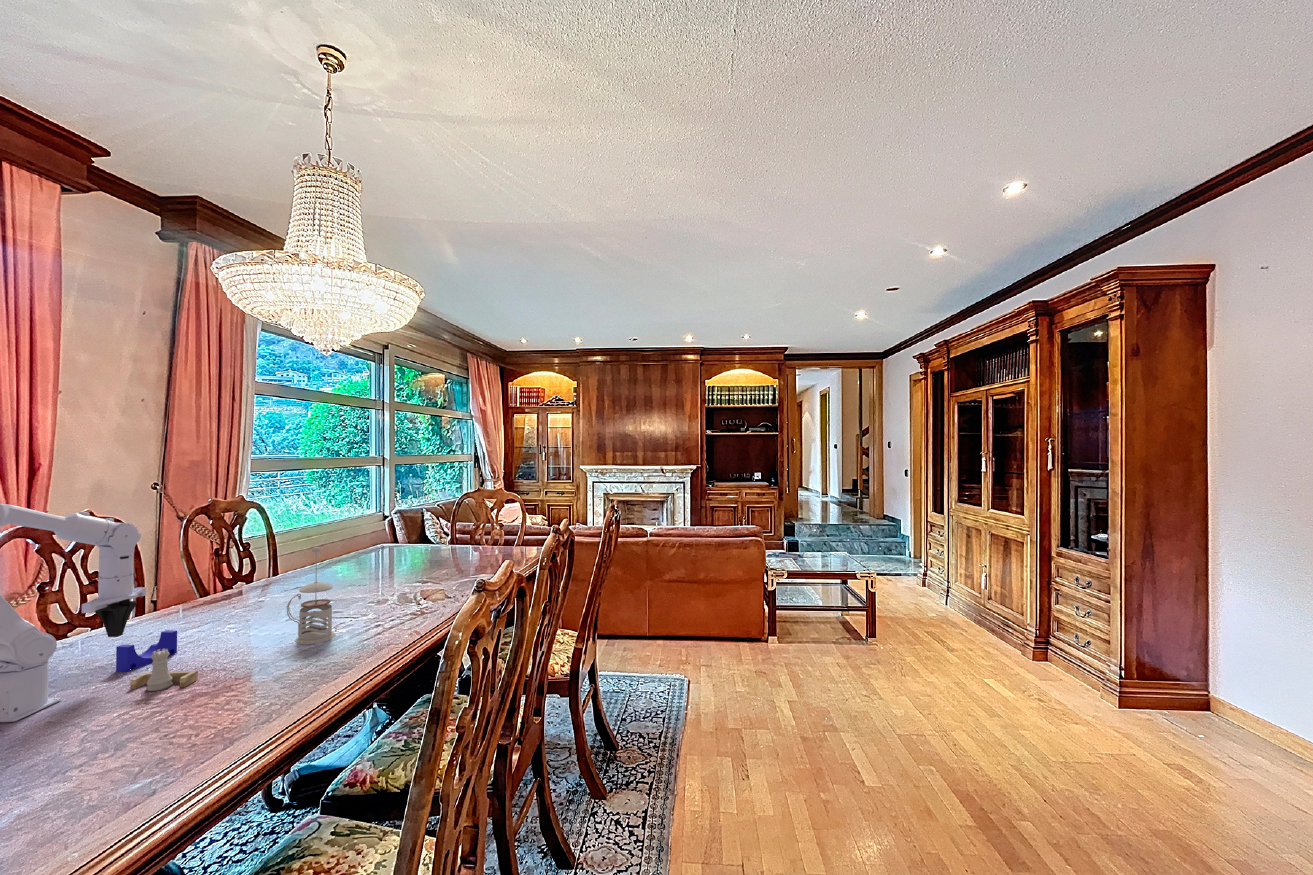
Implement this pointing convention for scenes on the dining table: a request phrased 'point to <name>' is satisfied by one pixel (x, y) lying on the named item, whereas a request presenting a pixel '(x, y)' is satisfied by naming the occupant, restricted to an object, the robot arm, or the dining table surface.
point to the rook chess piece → (159, 671)
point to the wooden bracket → (178, 676)
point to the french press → (314, 614)
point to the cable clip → (132, 660)
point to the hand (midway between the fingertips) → (115, 635)
